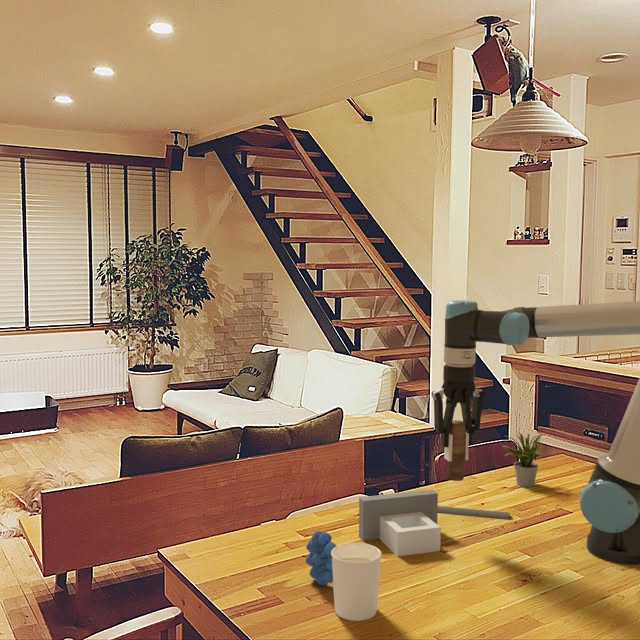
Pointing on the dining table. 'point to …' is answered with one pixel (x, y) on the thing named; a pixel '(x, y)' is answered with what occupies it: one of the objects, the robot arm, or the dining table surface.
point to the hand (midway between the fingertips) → (456, 459)
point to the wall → (393, 509)
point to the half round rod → (473, 512)
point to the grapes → (320, 557)
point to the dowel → (457, 451)
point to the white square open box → (409, 533)
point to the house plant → (525, 461)
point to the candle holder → (356, 580)
